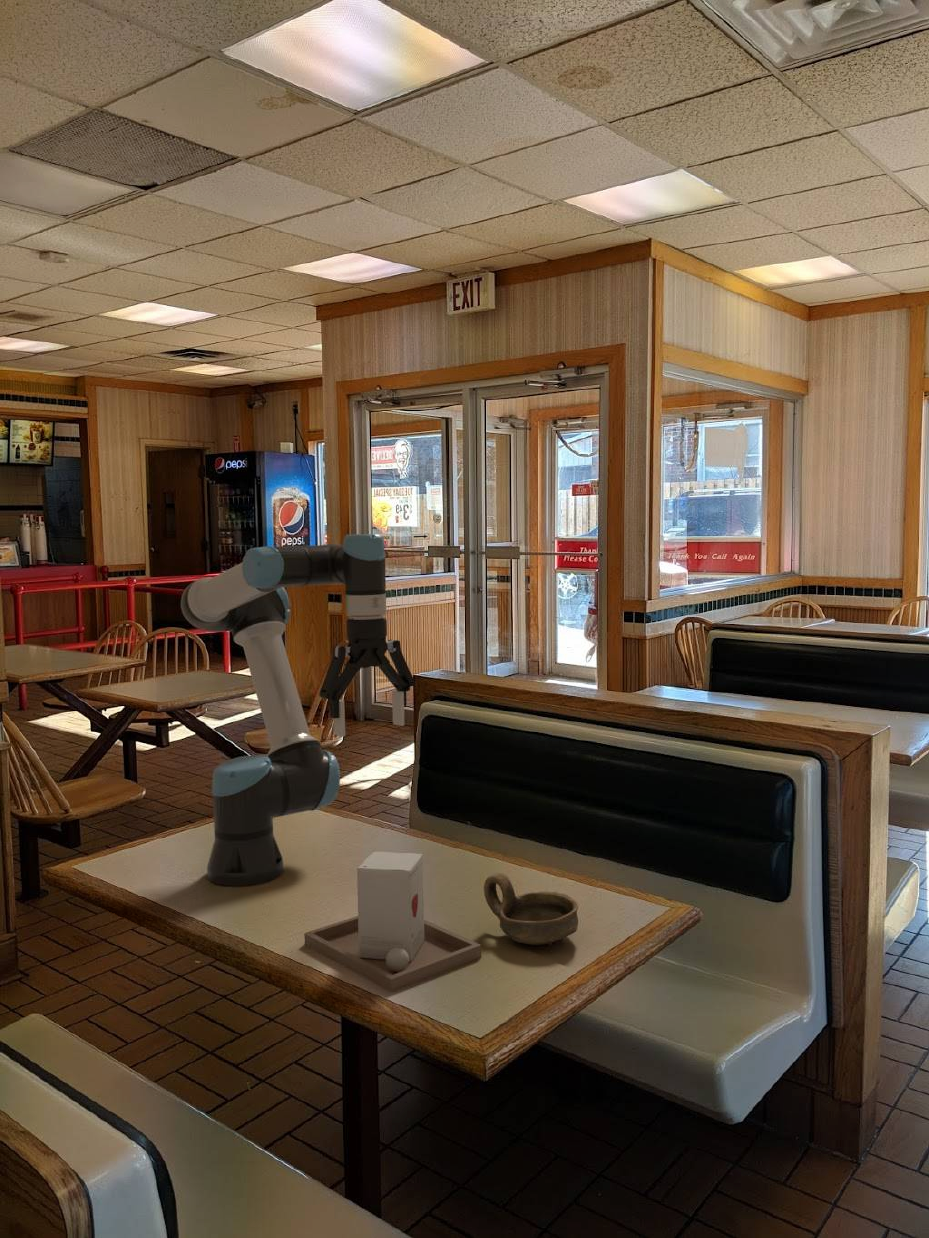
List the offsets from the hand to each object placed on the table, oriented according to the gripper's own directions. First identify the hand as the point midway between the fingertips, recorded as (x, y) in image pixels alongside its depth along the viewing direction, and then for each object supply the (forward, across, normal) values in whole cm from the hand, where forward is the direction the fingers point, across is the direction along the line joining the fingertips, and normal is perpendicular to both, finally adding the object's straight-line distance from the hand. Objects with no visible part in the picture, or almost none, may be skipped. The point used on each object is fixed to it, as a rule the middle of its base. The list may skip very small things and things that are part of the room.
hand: (369, 730), depth 189 cm
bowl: (+32, +7, -35) cm, 48 cm away
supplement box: (+31, -14, -24) cm, 42 cm away
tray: (+32, -14, -24) cm, 42 cm away
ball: (+31, -18, -31) cm, 47 cm away
